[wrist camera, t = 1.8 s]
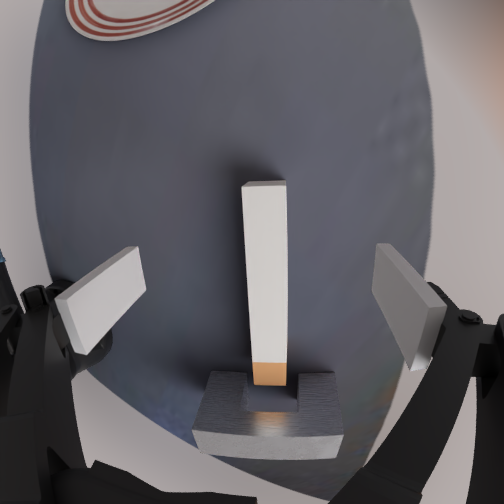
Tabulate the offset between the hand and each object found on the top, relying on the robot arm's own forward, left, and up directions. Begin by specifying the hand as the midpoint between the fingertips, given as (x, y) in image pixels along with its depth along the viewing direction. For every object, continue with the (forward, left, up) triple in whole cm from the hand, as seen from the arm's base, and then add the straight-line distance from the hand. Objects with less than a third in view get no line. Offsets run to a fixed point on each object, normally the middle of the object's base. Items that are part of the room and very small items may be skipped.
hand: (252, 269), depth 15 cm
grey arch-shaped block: (-18, -19, -17) cm, 32 cm away
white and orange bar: (-6, -6, -17) cm, 19 cm away
